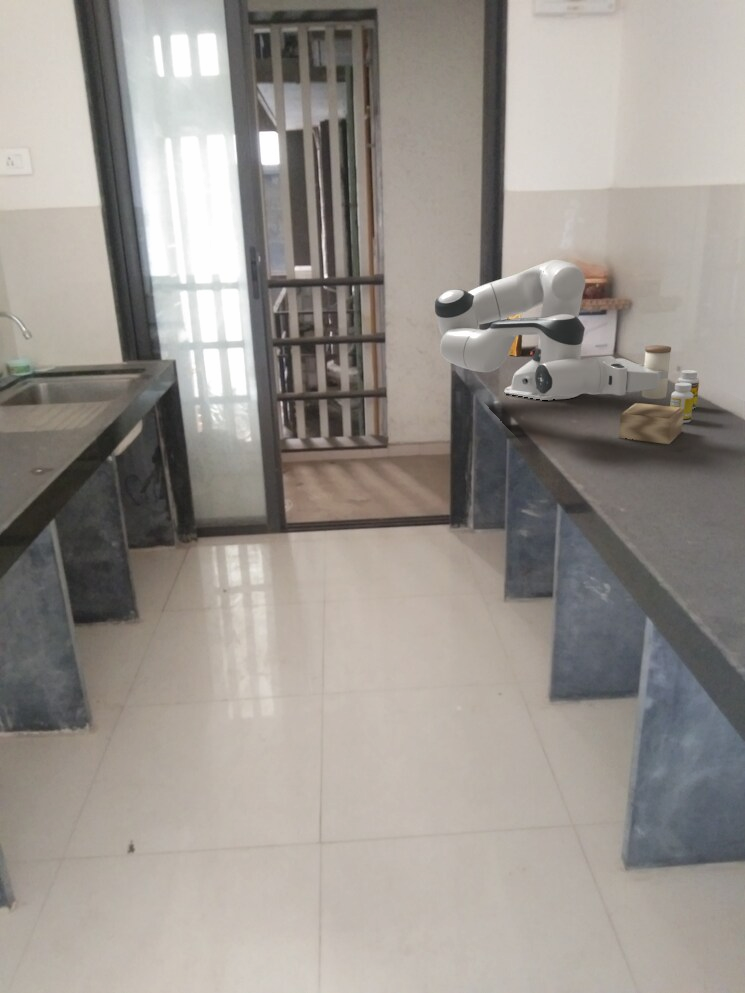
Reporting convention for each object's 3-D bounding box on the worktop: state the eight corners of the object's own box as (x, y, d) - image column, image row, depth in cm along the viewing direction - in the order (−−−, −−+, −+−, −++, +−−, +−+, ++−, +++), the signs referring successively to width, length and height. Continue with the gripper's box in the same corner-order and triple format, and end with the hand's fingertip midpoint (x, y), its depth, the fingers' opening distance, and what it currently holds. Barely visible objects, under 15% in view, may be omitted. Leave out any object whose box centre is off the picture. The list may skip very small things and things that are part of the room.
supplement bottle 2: (690, 418, 204) (694, 382, 201) (691, 424, 200) (695, 386, 196) (668, 417, 206) (672, 381, 203) (668, 423, 201) (672, 385, 198)
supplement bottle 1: (687, 411, 211) (691, 374, 207) (670, 407, 215) (674, 371, 212) (700, 408, 214) (704, 371, 210) (683, 404, 218) (686, 368, 215)
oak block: (618, 437, 191) (620, 412, 189) (633, 425, 200) (635, 402, 198) (668, 444, 184) (671, 418, 182) (681, 431, 194) (684, 407, 191)
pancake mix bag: (517, 348, 310) (519, 275, 300) (528, 356, 292) (530, 280, 282) (500, 348, 310) (502, 276, 300) (510, 357, 292) (512, 281, 282)
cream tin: (638, 397, 188) (642, 348, 184) (645, 392, 192) (649, 344, 188) (662, 399, 185) (667, 350, 181) (669, 394, 189) (674, 346, 185)
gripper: (587, 379, 196) (639, 375, 197) (621, 397, 177) (679, 393, 178) (588, 354, 194) (641, 350, 195) (623, 370, 175) (681, 366, 176)
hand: (659, 371), depth 187 cm, fingers closed on cream tin, 6 cm apart
